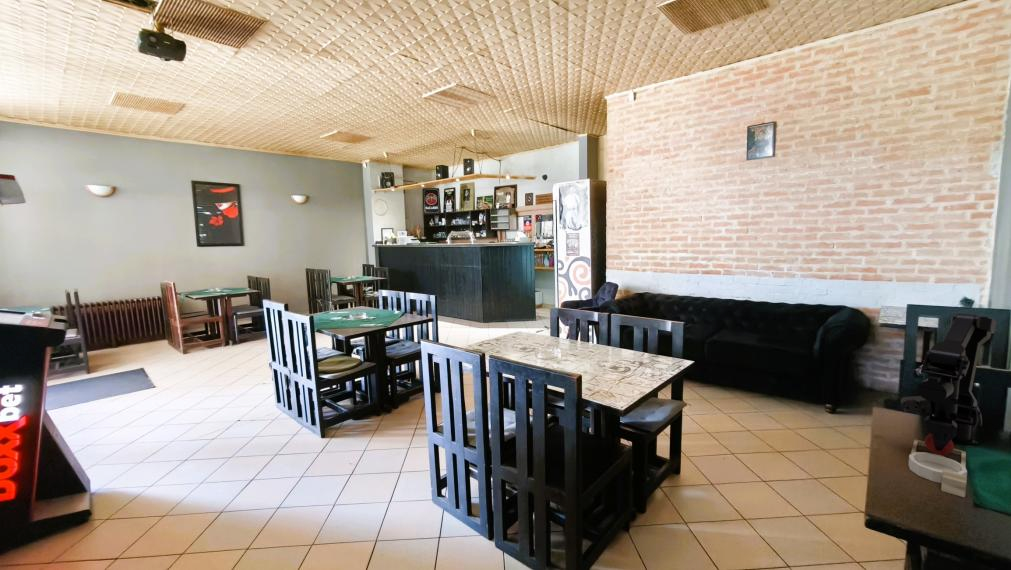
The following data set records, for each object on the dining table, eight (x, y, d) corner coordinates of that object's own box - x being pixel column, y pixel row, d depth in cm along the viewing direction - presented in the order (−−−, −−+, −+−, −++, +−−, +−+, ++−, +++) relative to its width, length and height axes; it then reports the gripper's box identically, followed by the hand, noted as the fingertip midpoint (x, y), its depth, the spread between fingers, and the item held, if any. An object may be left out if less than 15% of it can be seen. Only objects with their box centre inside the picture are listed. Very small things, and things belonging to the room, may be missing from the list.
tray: (914, 442, 128) (914, 439, 127) (965, 455, 120) (965, 451, 120) (910, 456, 121) (911, 452, 120) (965, 470, 113) (965, 466, 113)
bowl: (941, 462, 117) (941, 452, 117) (977, 485, 107) (978, 474, 106) (898, 461, 119) (899, 451, 118) (931, 484, 108) (931, 473, 108)
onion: (958, 462, 117) (961, 435, 116) (934, 461, 118) (936, 434, 117) (941, 451, 122) (943, 425, 121) (918, 450, 124) (920, 424, 123)
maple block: (941, 484, 108) (942, 469, 108) (964, 490, 105) (965, 475, 105) (941, 491, 105) (942, 476, 105) (964, 497, 103) (966, 482, 102)
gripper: (907, 377, 130) (903, 424, 132) (900, 395, 118) (897, 447, 120) (959, 385, 122) (955, 435, 124) (958, 406, 109) (954, 461, 111)
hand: (939, 444), depth 120 cm, fingers open, 9 cm apart
